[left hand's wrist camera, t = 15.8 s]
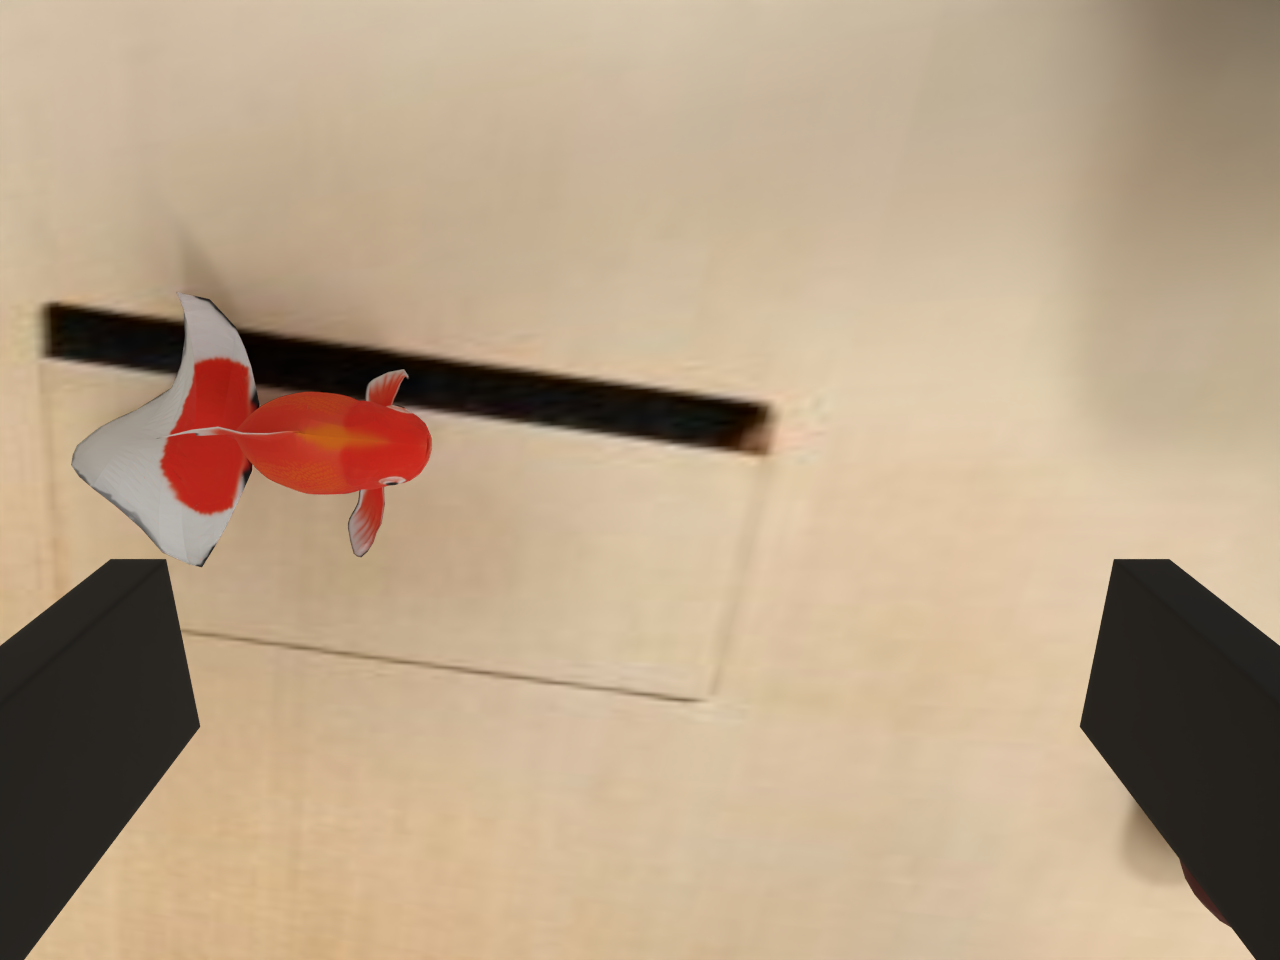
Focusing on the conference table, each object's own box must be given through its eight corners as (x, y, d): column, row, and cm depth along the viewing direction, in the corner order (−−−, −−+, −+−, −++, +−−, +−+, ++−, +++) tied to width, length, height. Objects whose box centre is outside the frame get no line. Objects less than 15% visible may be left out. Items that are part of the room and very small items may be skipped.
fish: (423, 642, 39) (258, 661, 29) (166, 516, 44) (-44, 498, 35) (510, 408, 39) (372, 352, 29) (242, 310, 44) (52, 235, 34)
